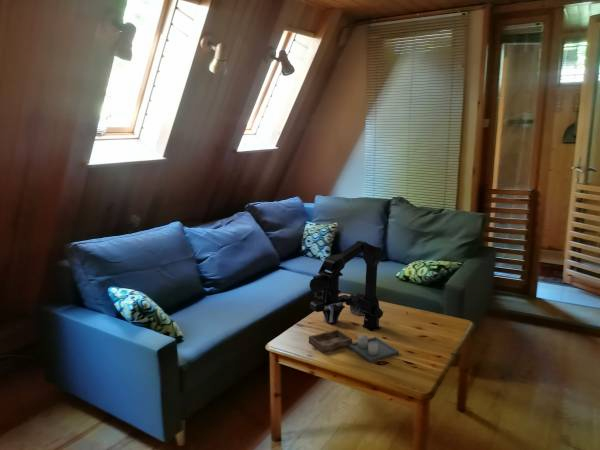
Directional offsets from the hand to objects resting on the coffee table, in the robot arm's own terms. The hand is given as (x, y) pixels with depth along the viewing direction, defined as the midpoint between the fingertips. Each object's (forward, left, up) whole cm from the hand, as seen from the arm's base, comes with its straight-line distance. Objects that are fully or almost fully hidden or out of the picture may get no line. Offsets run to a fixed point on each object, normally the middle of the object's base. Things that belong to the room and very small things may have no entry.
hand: (331, 321), depth 197 cm
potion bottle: (-13, -19, -10) cm, 26 cm away
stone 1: (0, -2, 0) cm, 2 cm away
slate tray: (-12, +14, -10) cm, 21 cm away
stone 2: (-10, +10, -9) cm, 17 cm away
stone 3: (-10, +17, -9) cm, 22 cm away
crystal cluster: (-34, -23, -11) cm, 43 cm away
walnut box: (0, 0, -10) cm, 10 cm away
